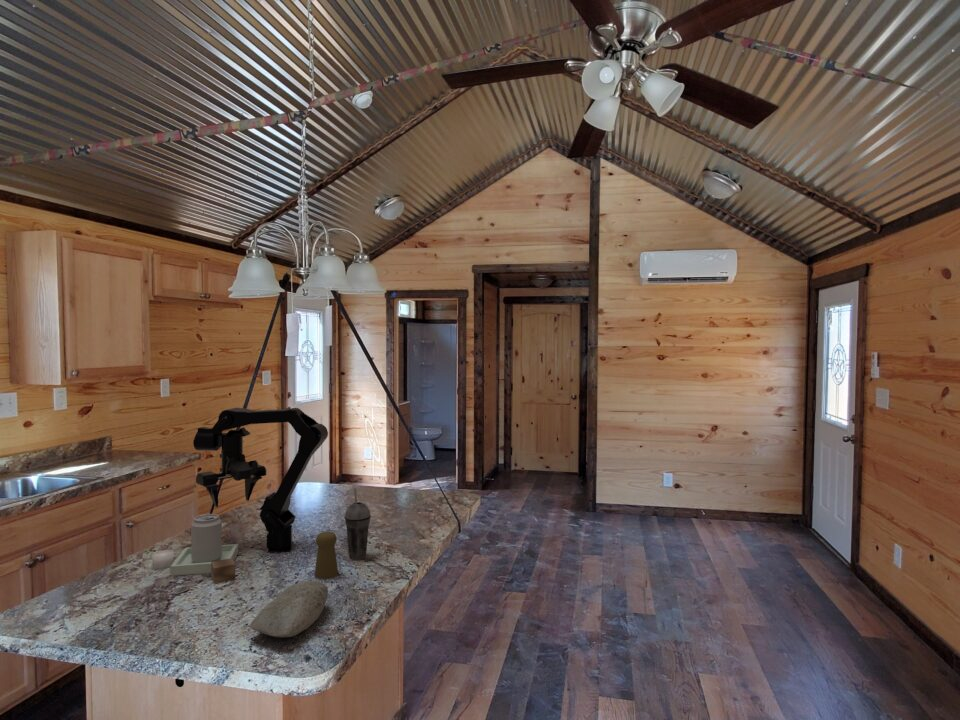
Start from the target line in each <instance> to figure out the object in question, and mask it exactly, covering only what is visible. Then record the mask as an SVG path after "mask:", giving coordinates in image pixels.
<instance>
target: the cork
mask: <svg viewBox="0 0 960 720" xmlns="http://www.w3.org/2000/svg"><path fill="white" fill-rule="evenodd" d="M337 540H338V539H337V535H336V534H335V532H333V531H322V532H320V533H319V534H317V536H316V538H315V543H316V546H317V553H316V560H315V569H314V574H313V576H314V577H315V578H316V579H317V580H329V579H333V578H336V577H337V576H338V575H339V569H338V562H337V554H336V547H335V545H336V543H337Z"/></svg>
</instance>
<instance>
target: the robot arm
mask: <svg viewBox="0 0 960 720" xmlns="http://www.w3.org/2000/svg"><path fill="white" fill-rule="evenodd" d="M274 423H276V424H277V423H278V424H279V423H280V424H281V423H289V425H291V427H292V429H293V430H294V431H295V433H296V434H297V435H299V436H300V437H299V442H298V449H297V452H296V454H295V457H294V458H293V459H292V461H291V464H290V465H289V466H288V470H287V471H286V473H285V475H284V477H283V478H282V481H281V483H280V484H279V486H278V488H277V490H276V492H275V491H274V492H272V493H270V494H269V495H267V496H266V497H265V498H264V501H263V503H262V505H261V507H260V508H259V510H260V512H259V518H260V520H261V522H262V523H263V525H264V527H265V531H266V532H267V533H266V549H267V553H278V552H291V551H292V549H293V546H294V542H293V524H294V523H295V520H296V515H295V514H293V513H292V512H291V510H289V509H290V505H291V499H292V494H293V493H294V490H295V489H296V487H297V485H298V483H299V481H300V479H301V477H302V475H303V474H304V472H305V470H306V468H307V466H308V464H309V462H310V460H311V458H312V457H313V455H314V454H315V453H316V452H317V451H318V449H320V447H321V446H322V445H323V443H324V442H325V441H326V440H327V438H328V436H329V431H328V428H327V427H326V426H325V425H324V424H322V423H319V422H318V421H316V420H315V418H313V417H311V416H310V415H308V414H307V413H305V412H304V411H302V410H301V409H300V408H299V407H292V408H281V409H262V410H261V409H260V410H256V409H255V410H254V409H249V408H243V407H234V408H229V409H228V408H227V409H225V410H222V411H221V412H220V413H219V415H218V418H217V421H216V422H215V424H214V425H213V426H212V427H207V426H206V427H204V426H201V427H198V428H197V432H196V434H195V435H194V438H193V442H192V444H193V448H194V449H195V451H206V452H207V451H211V452H213V451H219V450H220V449H221V453H220V454H219V458H220V459H221V467H219V473H216V472H213V471H203V472H199V473H197V474H196V476H195V483H196V484H198V485H199V486H202V487H204V488H205V489H206V491H207V492H208V494H209V496H210V498H211V500H212V502H213V505H214V507H216V508H218V507H219V493H218V491H219V486H220V484H217V483H219V481H220V480H221V481H222V480H226V479H233V480H234V481H236V482H237V481H243V480H244V496H245V500H246V501H250V498H251V495H252V493H253V490H254V487H255V485H256V484H257V483H258V481H260V480H262V479H263V477H265V476H267V468H266V466H264V465H261V464H259V463H258V461H257V460H256V459H254V460H249V461H246V456H245V455H246V454H243V452H244V451H243V447H244V445H243V442H244V440H243V439H244V438H245V437H246V436H250V435H251V432H249V430H247V429H246V428H245V427H244V426H248V425H255V424H256V425H257V424H258V425H261V424H274ZM237 428H239V429H237ZM236 429H237V430H236ZM225 431H227V432H225Z"/></svg>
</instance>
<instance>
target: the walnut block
mask: <svg viewBox="0 0 960 720" xmlns="http://www.w3.org/2000/svg"><path fill="white" fill-rule="evenodd" d="M210 577H211V580H212V582H213V584H217V583H224V582H227V581H234V580H236V563H235V560H234V561H233V559H232V558H229V559H224V560H218V561H213V562H211V573H210Z"/></svg>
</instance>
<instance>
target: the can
mask: <svg viewBox="0 0 960 720" xmlns="http://www.w3.org/2000/svg"><path fill="white" fill-rule="evenodd" d="M222 523H223V521H222V519H220V516H219V514H215V513H205V514H201V515H197V516H195V517H194V518H193V522H192V523H191V524H190V526H191V528H190V529H191V530H190V531H191V534H190V535H191V537H190V538H191V540H190V541H191V545H190V547H191V559H192V560H193V561H194V562H195V563H205V562H213V561H217V560H218V559H219V558H220V557H221V555H222V545H223V543H222V542H223V540H222V539H223V538H222V535H223V533H222V532H223V530H222V528H223V527H222V526H223V525H222Z"/></svg>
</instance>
